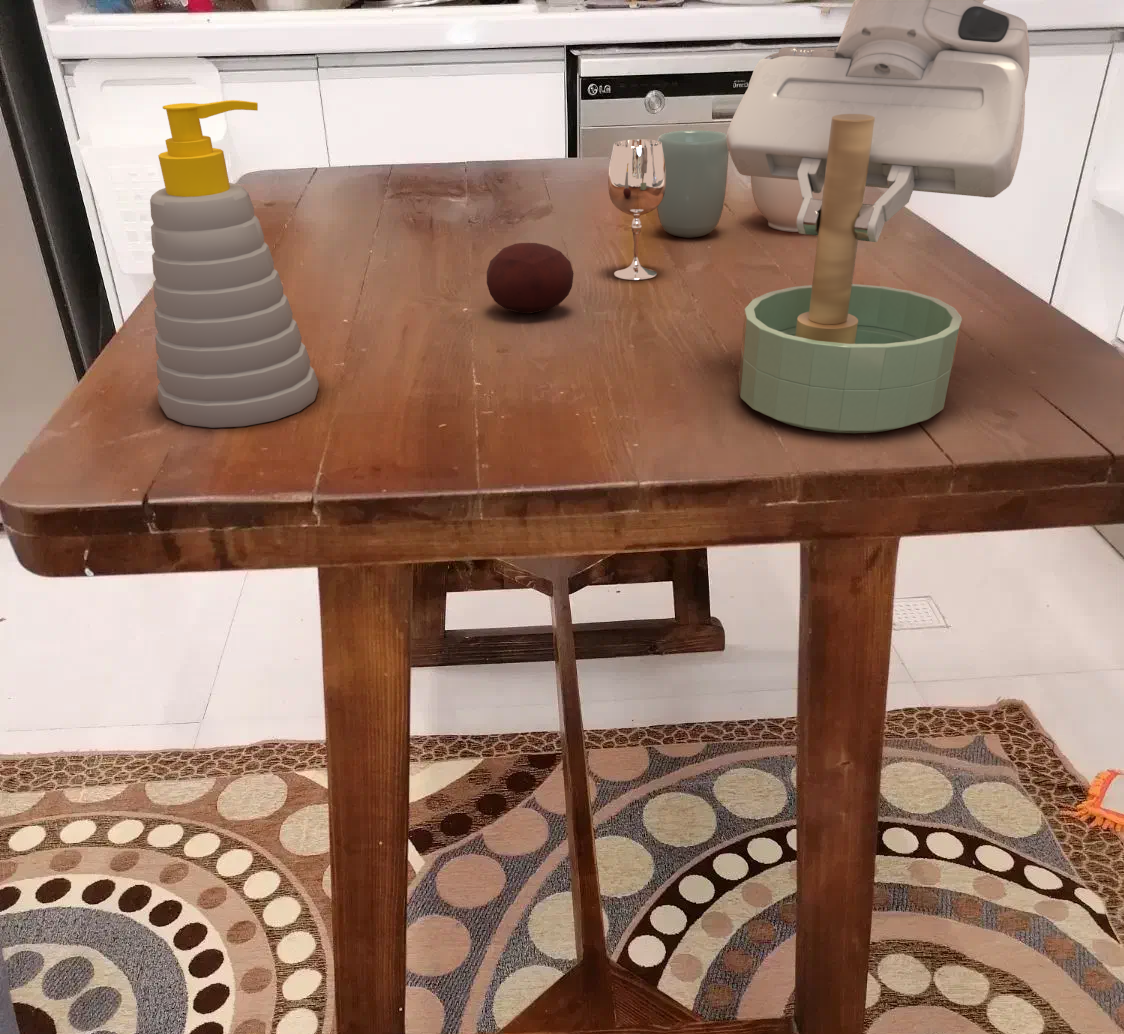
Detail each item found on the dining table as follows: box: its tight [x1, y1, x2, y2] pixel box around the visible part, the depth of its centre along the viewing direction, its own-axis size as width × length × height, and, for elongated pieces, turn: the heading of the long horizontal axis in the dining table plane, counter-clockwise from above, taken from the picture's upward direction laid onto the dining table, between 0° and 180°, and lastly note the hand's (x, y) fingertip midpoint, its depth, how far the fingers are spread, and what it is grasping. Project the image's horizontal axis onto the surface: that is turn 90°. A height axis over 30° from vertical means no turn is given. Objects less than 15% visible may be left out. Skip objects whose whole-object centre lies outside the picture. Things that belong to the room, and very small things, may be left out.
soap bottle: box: [149, 99, 320, 429], centre depth 81 cm, size 12×12×20 cm
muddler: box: [795, 114, 875, 344], centre depth 78 cm, size 4×4×16 cm
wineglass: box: [607, 138, 667, 281], centre depth 110 cm, size 6×6×12 cm
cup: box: [656, 129, 730, 239], centre depth 124 cm, size 8×8×10 cm
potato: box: [486, 242, 575, 314], centre depth 102 cm, size 7×8×6 cm
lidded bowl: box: [750, 176, 824, 233], centre depth 126 cm, size 13×13×11 cm
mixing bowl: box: [738, 283, 963, 434], centre depth 82 cm, size 15×15×6 cm
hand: (836, 233), depth 77 cm, fingers closed on muddler, 3 cm apart
